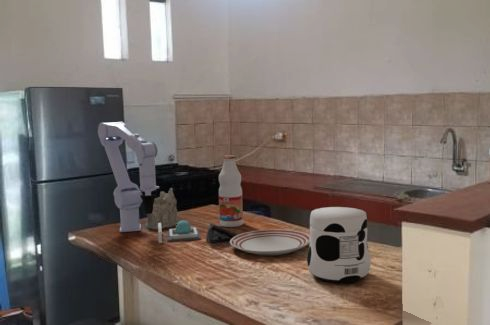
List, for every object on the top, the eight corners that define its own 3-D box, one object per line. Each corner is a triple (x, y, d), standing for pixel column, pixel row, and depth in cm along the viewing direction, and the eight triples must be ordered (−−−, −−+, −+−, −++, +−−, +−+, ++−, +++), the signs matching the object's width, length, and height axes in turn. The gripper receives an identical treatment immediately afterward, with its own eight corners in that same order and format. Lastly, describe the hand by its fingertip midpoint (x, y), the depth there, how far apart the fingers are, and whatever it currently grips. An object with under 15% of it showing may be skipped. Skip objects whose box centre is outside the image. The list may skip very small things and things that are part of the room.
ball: (175, 230, 185) (175, 218, 182) (190, 229, 185) (189, 217, 183) (176, 239, 180) (175, 226, 177) (191, 237, 181) (191, 225, 178)
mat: (166, 233, 187) (166, 228, 187) (198, 230, 190) (197, 226, 189) (167, 241, 176) (167, 236, 176) (201, 239, 178) (200, 234, 178)
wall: (158, 233, 188) (157, 222, 187) (161, 232, 188) (161, 222, 188) (158, 243, 174) (158, 232, 174) (162, 242, 174) (161, 232, 174)
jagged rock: (163, 216, 215) (160, 183, 212) (186, 224, 203) (184, 188, 200) (132, 226, 204) (129, 191, 201) (155, 234, 192) (152, 197, 190)
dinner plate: (214, 254, 160) (214, 244, 160) (253, 233, 184) (252, 225, 184) (292, 265, 147) (292, 254, 147) (322, 241, 171) (322, 232, 171)
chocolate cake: (234, 237, 181) (210, 217, 179) (241, 236, 175) (216, 215, 172) (219, 258, 177) (194, 237, 175) (226, 258, 171) (200, 236, 169)
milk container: (326, 262, 149) (326, 203, 147) (380, 273, 138) (381, 210, 136) (295, 278, 136) (294, 215, 134) (352, 292, 125) (352, 223, 123)
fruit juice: (247, 223, 200) (245, 154, 196) (236, 228, 192) (234, 157, 188) (227, 221, 204) (224, 154, 201) (215, 226, 196) (213, 156, 193)
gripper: (158, 177, 175) (160, 214, 177) (158, 172, 189) (160, 206, 191) (138, 178, 174) (140, 216, 176) (139, 173, 188) (141, 207, 190)
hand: (149, 211), depth 183 cm, fingers open, 7 cm apart
